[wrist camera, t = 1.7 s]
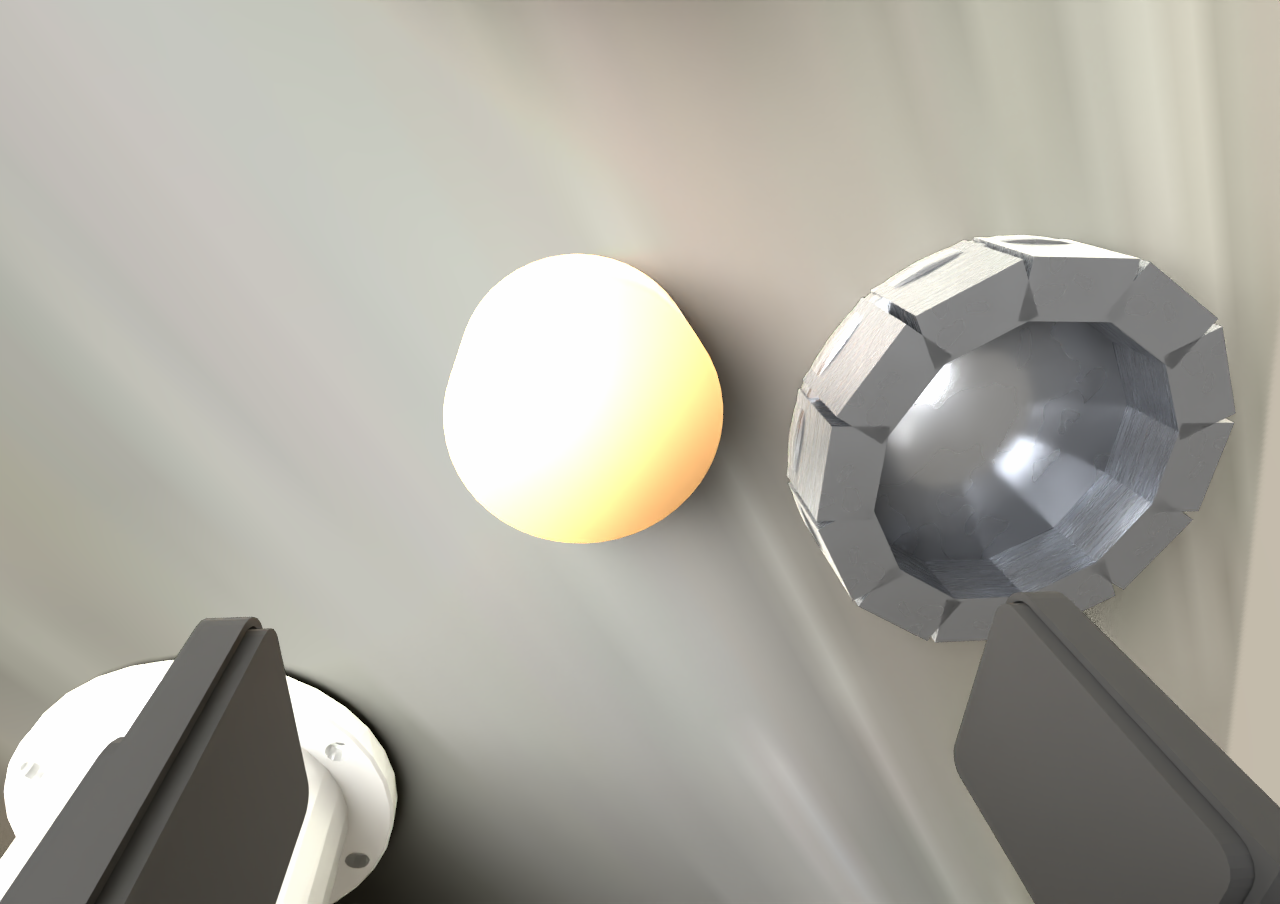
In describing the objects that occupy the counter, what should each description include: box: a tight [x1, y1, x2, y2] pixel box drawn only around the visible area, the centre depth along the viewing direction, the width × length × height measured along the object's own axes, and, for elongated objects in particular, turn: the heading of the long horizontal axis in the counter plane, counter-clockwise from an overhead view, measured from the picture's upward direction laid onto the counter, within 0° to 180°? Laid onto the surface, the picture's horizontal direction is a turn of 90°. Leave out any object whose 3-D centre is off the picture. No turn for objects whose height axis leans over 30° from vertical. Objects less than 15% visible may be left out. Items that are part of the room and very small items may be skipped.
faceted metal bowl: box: [787, 235, 1236, 642], centre depth 23 cm, size 13×13×3 cm
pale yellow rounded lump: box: [444, 254, 723, 543], centre depth 21 cm, size 7×7×4 cm
